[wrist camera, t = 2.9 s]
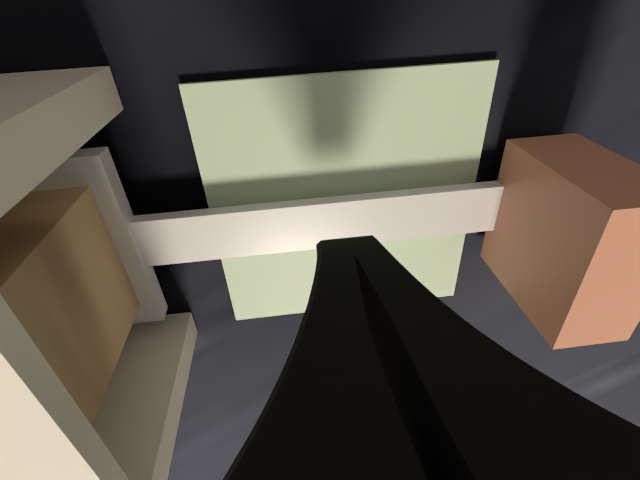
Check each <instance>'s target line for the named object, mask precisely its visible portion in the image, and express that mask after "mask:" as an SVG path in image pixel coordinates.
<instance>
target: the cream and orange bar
mask: <svg viewBox="0 0 640 480" xmlns="http://www.w3.org/2000/svg"><path fill="white" fill-rule="evenodd" d="M86 186H89V187H90V189H91V191H92V194H93V196H94V198H95V201H96V203H97V205H98V208H99V210H100V212H101V215H102V217H103V219H104V222H105V224H106V226H107V229H108V231H109V233H110V236H111V238H112V240H113V243H114V245H115V247H116V250H117V252H118V254H119V257H120V259H121V261H122V263H123V266H124V268H125V270H126V273H127V275H128V277H129V280H130V282H131V284H132V287H133V289H134V291H135V294H136V296H137V298H138V301H139V303H140V307H139V309H138V312H137V314H136V317H135V319H134V322H133V324H135V323H144V322H153V321H162V320H164V318H165V315H166V311H167V308H168V306H167V303H166V301H165V298H164V295H163V293H162V290H161V287H160V285H159V282H158V279H157V277H156V274H155V271H154V269H153V266H158V265H168V264H177V263H187V262H197V261H206V260H216V259H225V258H235V257H244V256H254V255H263V254H273V253H282V252H292V251H302V250H311V249H316V245H317V244H318V243H319V242H320V241H321V240H329V239H339V238H349V237H359V236H369V235H373V236H374V237H375V238H376V239H377V240H378V241H379V242H387V241H397V240H407V239H416V238H426V237H435V236H445V235H454V234H464V233H473V232H483V231H486V232H485V236H484V241H483V245H482V249H481V254H480V256H481V257H482V258H483V260H484V261H485V262H486V264H487V265H488V266H489V267H490V269H491V270H492V271H493V273H494V274H495V275H496V277H497V278H498V279H499V280H500V282H501V283H502V284H503V286H504V287H505V288H506V290H507V291H508V292H509V293H510V295H511V296H512V297H513V299H514V300H515V301H516V303H517V304H518V305H519V307H520V308H521V309H522V310H523V312H524V313H525V314H526V316H527V317H528V318H529V320H530V321H531V322H532V323H533V325H534V326H535V327H536V329H537V330H538V331H539V333H540V334H541V335H542V336H543V338H544V339H545V340H546V342H547V343H548V344H549V346H550V347H551V348H552V349H561V348H569V347H577V346H584V345H592V344H600V343H608V342H616V341H624V340H628V339H629V338H630V336H631V334H632V333H633V331H634V329H635V327H636V326H637V324H638V322H639V321H640V165H638V164H636V163H634V162H632V161H630V160H628V159H626V158H624V157H622V156H620V155H618V154H616V153H614V152H612V151H610V150H608V149H606V148H604V147H602V146H600V145H598V144H596V143H594V142H592V141H590V140H588V139H586V138H584V137H582V136H580V135H578V134H576V133H572V134H561V135H550V136H538V137H527V138H516V139H507V140H506V145H505V149H504V153H503V158H502V162H501V166H500V171H499V175H498V180H497V181H487V182H477V183H466V184H456V185H446V186H435V187H425V188H415V189H404V190H394V191H383V192H373V193H363V194H352V195H342V196H332V197H321V198H311V199H301V200H290V201H280V202H270V203H259V204H249V205H238V206H228V207H218V208H207V209H197V210H187V211H176V212H166V213H156V214H145V215H135V216H134V215H133V213H132V210H131V207H130V205H129V202H128V199H127V197H126V194H125V191H124V189H123V186H122V183H121V181H120V178H119V175H118V173H117V170H116V167H115V165H114V162H113V160H112V157H111V154H110V152H109V149H108V147H96V148H84V149H78V150H77V151H76V152H75V153H74V154H72V155H71V156H70V157H69V158H68V159H67V160H66V161H64V162H63V163H62V164H61V165H60V166H59V167H58V168H57V169H55V170H54V171H53V172H52V173H51V174H50V175H49V176H47V177H46V178H45V179H44V180H43V181H42V182H41V183H40V184H38V185H37V186H36V187H35V188H34V189H33V190H32V191H42V190H53V189H64V188H75V187H86ZM30 192H31V191H30Z"/></svg>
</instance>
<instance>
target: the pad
mask: <svg viewBox="0 0 640 480" xmlns="http://www.w3.org/2000/svg"><path fill="white" fill-rule="evenodd" d="M498 64H499V60H497V59H493V60H480V61H467V62H454V63H441V64H428V65H415V66H402V67H388V68H375V69H362V70H349V71H336V72H323V73H310V74H297V75H284V76H271V77H257V78H244V79H231V80H218V81H205V82H192V83H180V84H179V89H180V93H181V97H182V101H183V105H184V109H185V113H186V117H187V121H188V125H189V129H190V134H191V138H192V142H193V146H194V150H195V154H196V158H197V162H198V166H199V170H200V174H201V179H202V183H203V187H204V191H205V195H206V199H207V203H208V207H209V208H218V207H228V206H238V205H249V204H259V203H270V202H280V201H290V200H301V199H311V198H321V197H332V196H342V195H352V194H363V193H373V192H383V191H394V190H404V189H415V188H425V187H435V186H446V185H456V184H466V183H475V182H476V177H477V172H478V167H479V162H480V157H481V152H482V146H483V141H484V136H485V131H486V126H487V121H488V116H489V110H490V105H491V100H492V95H493V90H494V85H495V80H496V75H497V69H498ZM465 234H466V233H464V234H454V235H445V236H435V237H426V238H416V239H407V240H397V241H387V242H380V243H381V244H382V245H383V246H384V247H385V248H386V249H387V250H388V251H389V252H390V253H391V254H392V255H393V256H394V257H395V258H396V259H397V260H398V261H399V262H400V263H401V264H402V265H403V266H404V267H405V268H406V269H407V270H408V271H409V272H410V273H411V274H412V275H413V276H414V277H415V278H416V279H417V280H418V281H420V282H421V283H422V284H423V285H424V286H425V287H426V288H427V289H428V290H429V291H430V292H432V293H433V294H434V295H435V296H436V297H443V296H452V295H454V290H455V285H456V280H457V275H458V270H459V264H460V259H461V254H462V249H463V244H464V239H465ZM221 260H222V264H223V269H224V273H225V277H226V281H227V285H228V289H229V293H230V297H231V301H232V305H233V309H234V314H235V318H236V320H243V319H251V318H260V317H269V316H277V315H286V314H295V313H304V312H305V310H306V307H307V304H308V300H309V296H310V292H311V288H312V284H313V280H314V275H315V269H316V262H317V251H316V249H311V250H302V251H292V252H282V253H273V254H263V255H254V256H244V257H235V258H225V259H221Z"/></svg>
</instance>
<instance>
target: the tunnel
mask: <svg viewBox="0 0 640 480" xmlns="http://www.w3.org/2000/svg"><path fill="white" fill-rule="evenodd" d="M122 110H123V106H122V103H121V100H120V97H119V94H118V91H117V88H116V85H115V82H114V79H113V76H112V73H111V70H110V67H109V66H101V67H87V68H73V69H59V70H46V71H32V72H18V73H4V74H0V218H1V217H2V216H3V215H4V214H6V213H7V212H8V211H9V210H10V209H11V208H12V207H13V206H15V205H16V204H17V203H18V202H19V201H20V200H21V199H23V198H24V197H25V196H26V195H27V194H28V193H29V192H30V191H32V190H33V189H34V188H35V187H36V186H37V185H38V184H40V183H41V182H42V181H43V180H44V179H45V178H46V177H47V176H49V175H50V174H51V173H52V172H53V171H54V170H55V169H57V168H58V167H59V166H60V165H61V164H62V163H63V162H64V161H66V160H67V159H68V158H69V157H70V156H71V155H72V154H74V153H75V152H76V151H77V150H78V149H79V148H80V147H81V146H83V145H84V144H85V143H86V142H87V141H88V140H89V139H91V138H92V137H93V136H94V135H95V134H96V133H97V132H98V131H100V130H101V129H102V128H103V127H104V126H105V125H106V124H108V123H109V122H110V121H111V120H112V119H113V118H114V117H116V116H117V115H118V114H119V113H120V112H121V111H122ZM196 337H197V329H196V326H195V323H194V320H193V317H192V314H191V312H186V313H178V314H169V315H165V318H164V320H162V321H153V322H144V323H135V324H132V327H131V329H130V332H129V334H128V337H127V339H126V342H125V344H124V347H123V349H122V352H121V354H120V357H119V359H118V362H117V364H116V367H115V369H114V372H113V374H112V377H111V379H110V382H109V384H108V387H107V389H106V392H105V394H104V397H103V399H102V402H101V404H100V407H99V409H98V412H97V414H96V417H95V419H94V422H93V424H92V425H91V424H90V423H89V421H88V420H87V418H86V417H85V415H84V414H83V413H82V411H81V410H80V408H79V407H78V405H77V404H76V402H75V401H74V400H73V398H72V397H71V395H70V394H69V392H68V391H67V389H66V388H65V387H64V385H63V384H62V382H61V381H60V379H59V378H58V377H57V375H56V374H55V372H54V371H53V369H52V368H51V366H50V365H49V364H48V362H47V361H46V359H45V358H44V356H43V355H42V354H41V352H40V351H39V349H38V348H37V346H36V345H35V343H34V342H33V341H32V339H31V338H30V336H29V335H28V333H27V332H26V330H25V329H24V328H23V326H22V325H21V323H20V322H19V320H18V319H17V318H16V316H15V315H14V313H13V312H12V310H11V309H10V307H9V306H8V305H7V303H6V302H5V300H4V299H3V297H2V296H1V294H0V480H167V478H168V473H169V469H170V464H171V459H172V454H173V449H174V444H175V439H176V434H177V430H178V425H179V420H180V415H181V410H182V405H183V400H184V395H185V390H186V386H187V381H188V376H189V371H190V366H191V361H192V356H193V351H194V346H195V342H196Z"/></svg>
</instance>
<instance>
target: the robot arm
mask: <svg viewBox="0 0 640 480" xmlns="http://www.w3.org/2000/svg"><path fill="white" fill-rule="evenodd" d="M316 251H317V262H316V269H315V275H314V280H313V284H312V288H311V292H310V296H309V300H308V304H307V307H306V310H305V313H304V316H303V319H302V322H301V325H300V328H299V331H298V334H297V336H296V339H295V342H294V344H293V347H292V349H291V352H290V354H289V356H288V359H287V361H286V363H285V366H284V368H283V370H282V372H281V375H280V377H279V379H278V381H277V383H276V385H275V387H274V389H273V391H272V393H271V395H270V397H269V399H268V401H267V403H266V405H265V407H264V409H263V411H262V413H261V415H260V417H259V418H258V420H257V422H256V424H255V426H254V428H253V430H252V431H251V433H250V435H249V436H248V438H247V440H246V442H245V443H244V445H243V447H242V448H241V450H240V452H239V453H238V455H237V457H236V458H235V460H234V462H233V464H232V465H231V467H230V469H229V470H228V472H227V474H226V475H225V477H224V479H223V480H640V427H638V426H636V425H634V424H632V423H631V422H629V421H627V420H625V419H623V418H621V417H619V416H617V415H615V414H613V413H611V412H609V411H608V410H606V409H604V408H602V407H600V406H598V405H597V404H595V403H593V402H591V401H589V400H588V399H586V398H584V397H582V396H581V395H579V394H577V393H575V392H573V391H572V390H570V389H568V388H567V387H565V386H563V385H562V384H560V383H558V382H557V381H555V380H553V379H552V378H550V377H548V376H547V375H545V374H543V373H542V372H540V371H538V370H537V369H535V368H533V367H532V366H530V365H529V364H527V363H525V362H524V361H522V360H521V359H519V358H518V357H516V356H515V355H513V354H512V353H510V352H509V351H507V350H506V349H504V348H503V347H501V346H500V345H498V344H497V343H496V342H494V341H493V340H491V339H490V338H488V337H487V336H486V335H484V334H483V333H481V332H480V331H478V330H477V329H476V328H474V327H473V326H472V325H470V324H469V323H468V322H466V321H465V320H464V319H463V318H461V317H460V316H459V315H458V314H456V313H455V312H454V311H453V310H452V309H450V308H449V307H448V306H447V305H445V304H444V303H443V302H442V301H441V300H440V299H438V298H437V297H436V296H435V295H434V294H433V293H432V292H430V291H429V290H428V289H427V288H426V287H425V286H424V285H423V284H422V283H421V282H420V281H418V280H417V279H416V278H415V277H414V276H413V275H412V274H411V273H410V272H409V271H408V270H407V269H406V268H405V267H404V266H403V265H402V264H401V263H400V262H399V261H398V260H397V259H396V258H395V257H394V256H393V255H392V254H391V253H390V252H389V251H388V250H387V249H386V248H385V247H384V246H383V245H382V244H381V243H380V242H379V241H378V240H377V239H376V238H375V237H374V236H373V235H369V236H359V237H349V238H339V239H329V240H321V241H320V242H319V243H318V244H317V245H316Z"/></svg>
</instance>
